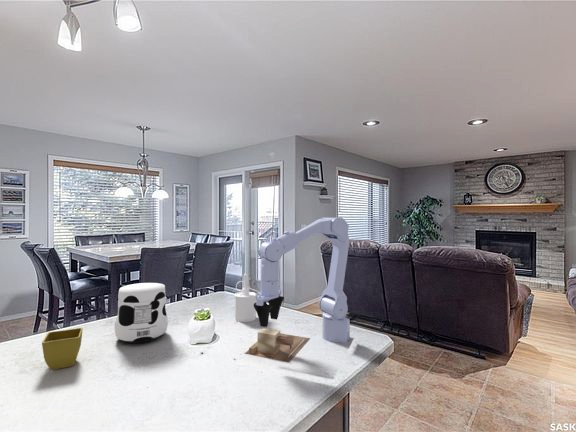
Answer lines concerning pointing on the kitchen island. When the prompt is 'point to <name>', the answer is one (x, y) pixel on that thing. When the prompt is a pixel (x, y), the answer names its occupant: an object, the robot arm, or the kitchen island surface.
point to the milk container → (141, 312)
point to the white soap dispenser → (245, 303)
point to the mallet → (271, 341)
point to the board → (281, 349)
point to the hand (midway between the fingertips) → (269, 322)
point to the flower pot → (62, 348)
